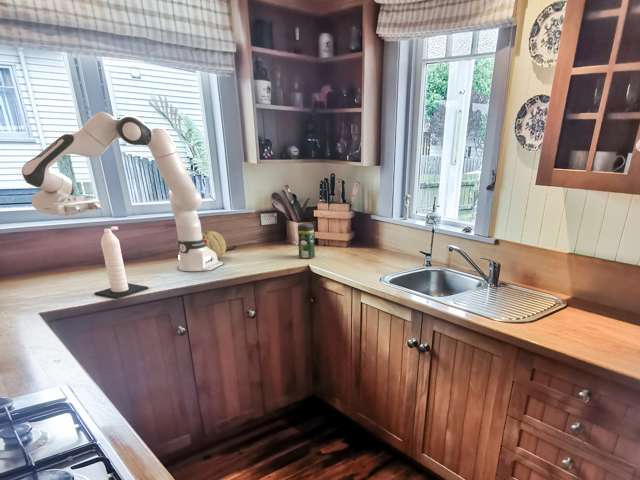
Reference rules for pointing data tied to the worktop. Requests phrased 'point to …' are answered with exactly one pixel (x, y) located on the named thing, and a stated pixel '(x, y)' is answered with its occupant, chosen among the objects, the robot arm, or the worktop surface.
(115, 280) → the water bottle
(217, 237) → the ribbed yellow melon
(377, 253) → the worktop surface
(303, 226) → the pickle jar
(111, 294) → the mat
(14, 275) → the worktop surface
